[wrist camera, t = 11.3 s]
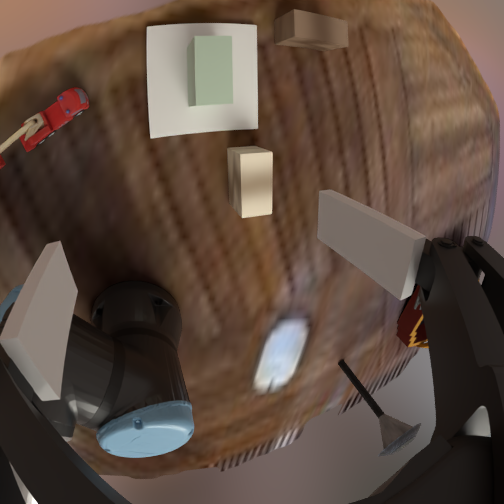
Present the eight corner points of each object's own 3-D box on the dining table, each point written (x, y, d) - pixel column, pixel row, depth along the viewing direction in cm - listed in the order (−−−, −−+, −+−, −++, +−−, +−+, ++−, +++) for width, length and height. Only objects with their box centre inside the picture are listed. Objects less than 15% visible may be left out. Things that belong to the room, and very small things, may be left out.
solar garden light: (322, 358, 67) (389, 451, 42) (362, 339, 70) (432, 420, 45) (320, 383, 73) (376, 466, 48) (356, 366, 76) (415, 440, 51)
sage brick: (220, 104, 33) (233, 103, 28) (188, 106, 32) (196, 105, 27) (218, 46, 29) (232, 35, 24) (187, 47, 28) (194, 36, 23)
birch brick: (255, 199, 42) (271, 213, 37) (229, 203, 41) (242, 218, 36) (255, 145, 38) (272, 152, 33) (227, 147, 37) (240, 154, 32)
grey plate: (255, 128, 37) (257, 128, 36) (150, 137, 33) (150, 138, 32) (254, 26, 30) (256, 25, 29) (147, 28, 26) (146, 26, 25)
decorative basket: (437, 225, 65) (477, 249, 51) (477, 256, 74) (507, 277, 61) (375, 329, 76) (402, 364, 62) (426, 338, 85) (449, 365, 72)
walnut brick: (323, 28, 32) (347, 21, 27) (323, 51, 34) (348, 46, 29) (274, 20, 30) (294, 9, 25) (274, 44, 32) (294, 36, 27)
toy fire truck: (93, 105, 28) (75, 104, 20) (15, 166, 27) (-18, 185, 19) (83, 85, 27) (62, 76, 19) (5, 147, 25) (-31, 160, 17)
